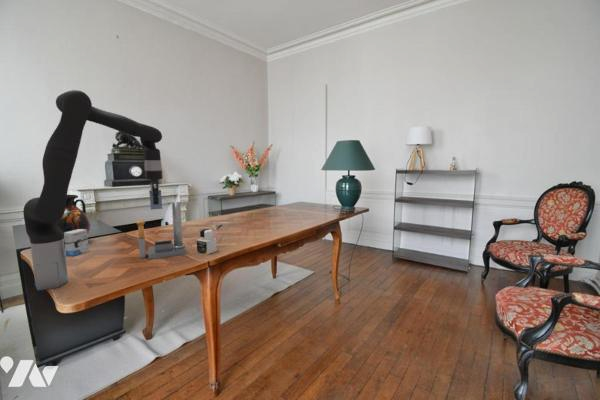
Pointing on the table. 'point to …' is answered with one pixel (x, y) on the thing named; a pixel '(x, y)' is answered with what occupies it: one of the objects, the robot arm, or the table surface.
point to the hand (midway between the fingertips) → (156, 203)
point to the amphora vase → (73, 216)
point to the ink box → (76, 242)
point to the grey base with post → (167, 247)
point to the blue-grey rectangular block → (158, 206)
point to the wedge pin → (141, 228)
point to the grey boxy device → (206, 242)
